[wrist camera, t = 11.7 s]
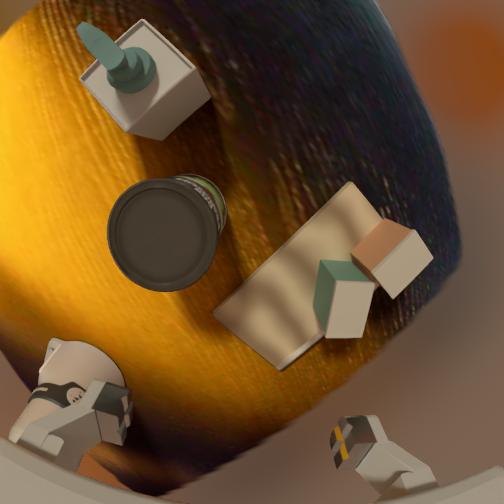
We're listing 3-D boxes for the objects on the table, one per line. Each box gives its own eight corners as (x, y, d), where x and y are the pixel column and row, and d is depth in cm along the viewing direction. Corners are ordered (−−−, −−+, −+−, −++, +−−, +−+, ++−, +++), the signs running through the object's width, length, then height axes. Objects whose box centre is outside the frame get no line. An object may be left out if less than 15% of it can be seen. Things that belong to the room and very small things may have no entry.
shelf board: (279, 364, 46) (280, 371, 44) (212, 310, 43) (211, 316, 41) (404, 253, 41) (410, 256, 40) (348, 181, 38) (353, 182, 37)
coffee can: (191, 156, 37) (163, 153, 24) (242, 217, 39) (242, 245, 26) (135, 208, 39) (86, 231, 25) (184, 265, 41) (158, 312, 28)
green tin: (311, 306, 42) (325, 338, 34) (319, 258, 40) (337, 282, 32) (342, 307, 42) (362, 337, 34) (351, 260, 40) (375, 284, 32)
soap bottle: (170, 55, 33) (119, -13, 15) (211, 97, 35) (183, 42, 17) (122, 99, 34) (42, 63, 16) (161, 142, 36) (94, 127, 18)
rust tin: (348, 252, 40) (372, 273, 31) (384, 216, 38) (415, 230, 30) (368, 274, 41) (393, 299, 32) (402, 240, 39) (433, 258, 31)
